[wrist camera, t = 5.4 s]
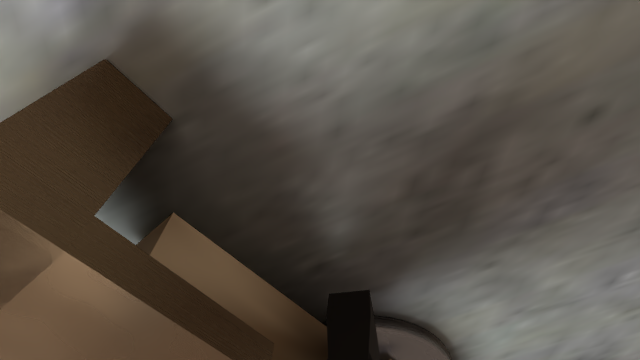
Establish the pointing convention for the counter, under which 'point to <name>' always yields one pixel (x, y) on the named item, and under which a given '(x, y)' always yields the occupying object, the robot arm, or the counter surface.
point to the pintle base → (407, 341)
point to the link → (237, 290)
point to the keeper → (93, 239)
